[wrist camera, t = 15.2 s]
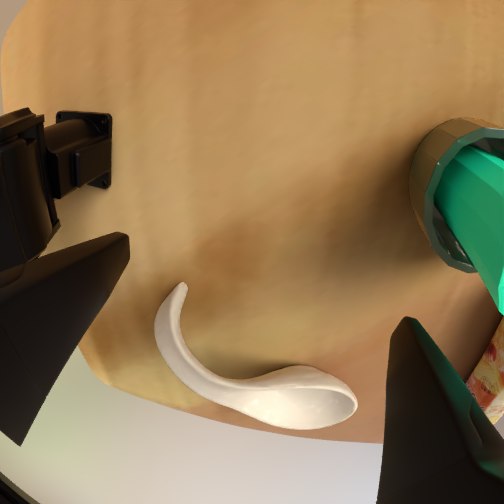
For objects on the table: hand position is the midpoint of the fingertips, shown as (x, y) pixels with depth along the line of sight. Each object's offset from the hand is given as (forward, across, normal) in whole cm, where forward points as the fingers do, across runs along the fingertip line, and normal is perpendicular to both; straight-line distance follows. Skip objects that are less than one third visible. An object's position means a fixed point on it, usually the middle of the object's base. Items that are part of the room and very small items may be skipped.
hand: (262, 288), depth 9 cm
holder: (+13, -12, -3) cm, 18 cm away
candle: (+13, -12, -3) cm, 18 cm away
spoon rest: (+13, -2, +20) cm, 24 cm away
